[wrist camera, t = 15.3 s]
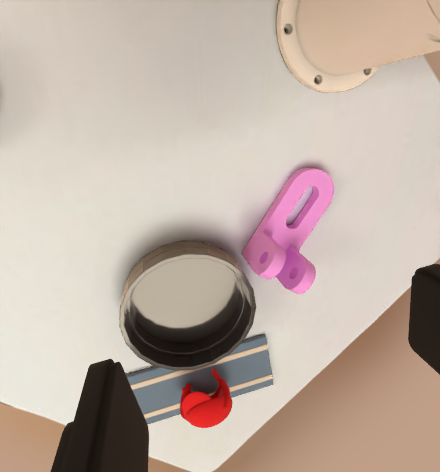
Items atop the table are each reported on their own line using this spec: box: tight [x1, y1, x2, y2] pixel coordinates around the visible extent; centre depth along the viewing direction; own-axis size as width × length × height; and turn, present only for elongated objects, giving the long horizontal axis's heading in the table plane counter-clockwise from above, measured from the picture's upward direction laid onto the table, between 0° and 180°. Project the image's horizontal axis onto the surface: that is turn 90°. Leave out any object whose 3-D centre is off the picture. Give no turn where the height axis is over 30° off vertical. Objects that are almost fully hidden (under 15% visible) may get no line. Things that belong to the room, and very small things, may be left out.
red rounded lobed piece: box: [180, 369, 232, 428], centre depth 39 cm, size 8×6×6 cm
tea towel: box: [126, 334, 273, 424], centre depth 42 cm, size 20×9×1 cm, turn 100°
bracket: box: [242, 168, 334, 294], centre depth 34 cm, size 13×6×7 cm, turn 148°
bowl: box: [119, 241, 256, 371], centre depth 36 cm, size 15×15×4 cm
